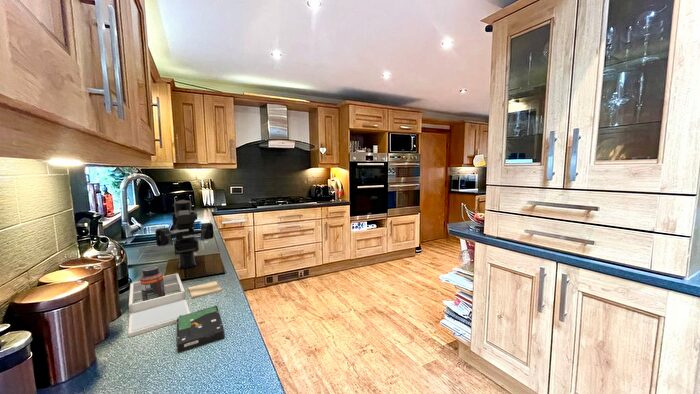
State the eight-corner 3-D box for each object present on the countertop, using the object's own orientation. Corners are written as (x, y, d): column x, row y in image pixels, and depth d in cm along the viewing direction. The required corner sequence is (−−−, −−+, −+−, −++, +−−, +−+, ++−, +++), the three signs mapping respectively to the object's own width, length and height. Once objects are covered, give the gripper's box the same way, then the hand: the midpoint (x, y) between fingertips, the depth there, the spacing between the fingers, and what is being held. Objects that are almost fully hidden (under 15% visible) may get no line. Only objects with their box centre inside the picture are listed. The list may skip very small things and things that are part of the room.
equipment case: (131, 292, 96) (130, 283, 95) (178, 282, 104) (177, 273, 104) (128, 337, 70) (127, 324, 70) (191, 318, 79) (190, 306, 78)
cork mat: (188, 289, 98) (188, 287, 98) (216, 282, 103) (215, 280, 103) (192, 298, 91) (192, 296, 90) (221, 290, 96) (221, 289, 96)
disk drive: (226, 340, 70) (217, 313, 82) (225, 329, 69) (217, 304, 82) (177, 355, 64) (176, 324, 76) (176, 344, 64) (175, 315, 76)
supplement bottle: (163, 295, 93) (160, 263, 92) (167, 301, 89) (164, 267, 88) (141, 302, 89) (137, 268, 88) (144, 308, 85) (140, 273, 83)
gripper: (154, 210, 104) (152, 223, 91) (209, 206, 114) (214, 216, 101) (157, 238, 107) (156, 254, 94) (211, 231, 117) (216, 245, 104)
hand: (187, 241), depth 98 cm, fingers open, 9 cm apart
